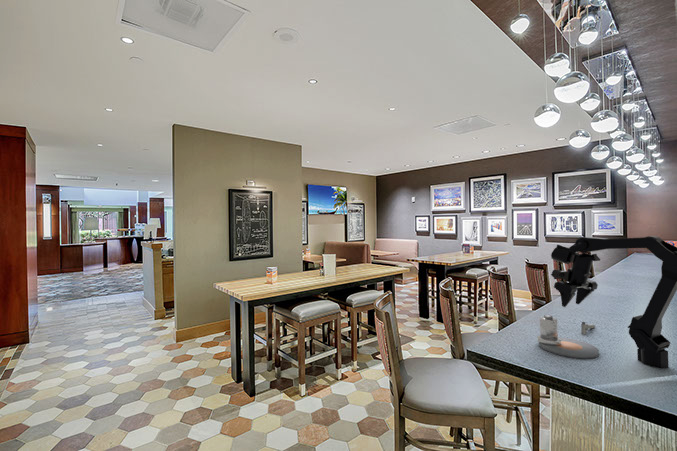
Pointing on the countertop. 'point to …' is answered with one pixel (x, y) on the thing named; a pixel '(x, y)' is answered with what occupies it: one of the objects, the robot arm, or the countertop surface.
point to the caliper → (585, 327)
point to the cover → (548, 331)
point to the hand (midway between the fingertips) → (570, 305)
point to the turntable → (572, 349)
